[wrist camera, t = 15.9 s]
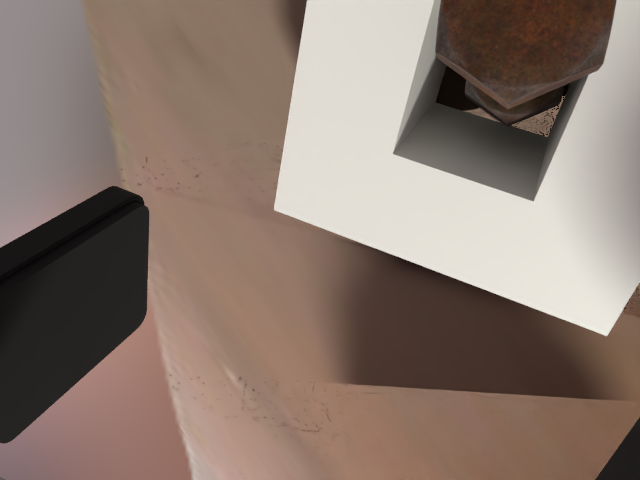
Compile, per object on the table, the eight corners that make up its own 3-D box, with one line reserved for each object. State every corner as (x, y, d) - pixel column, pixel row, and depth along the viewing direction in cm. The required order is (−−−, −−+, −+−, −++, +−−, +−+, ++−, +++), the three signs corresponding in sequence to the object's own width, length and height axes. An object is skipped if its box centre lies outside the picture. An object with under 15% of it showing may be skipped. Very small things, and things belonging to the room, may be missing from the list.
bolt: (474, 29, 32) (454, -97, 18) (573, 35, 31) (634, -97, 17) (458, 136, 33) (426, 95, 19) (553, 146, 32) (597, 110, 17)
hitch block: (792, -101, 25) (871, -104, 18) (605, 246, 35) (607, 336, 28) (404, -178, 29) (339, -206, 22) (334, 153, 39) (273, 209, 32)
